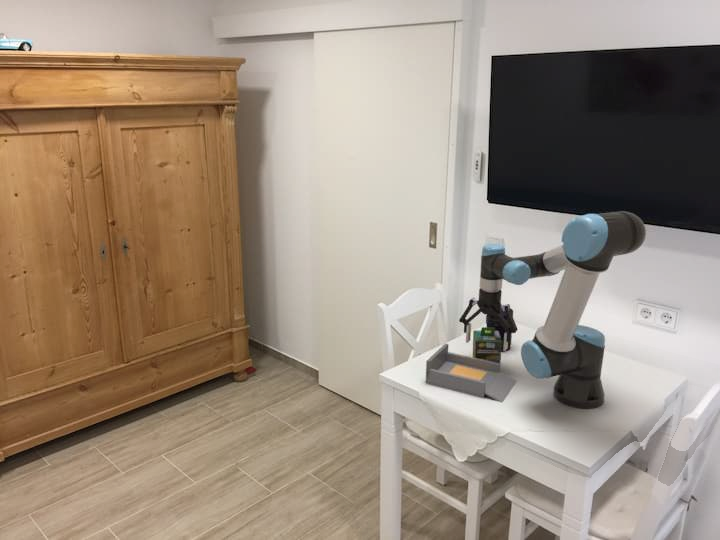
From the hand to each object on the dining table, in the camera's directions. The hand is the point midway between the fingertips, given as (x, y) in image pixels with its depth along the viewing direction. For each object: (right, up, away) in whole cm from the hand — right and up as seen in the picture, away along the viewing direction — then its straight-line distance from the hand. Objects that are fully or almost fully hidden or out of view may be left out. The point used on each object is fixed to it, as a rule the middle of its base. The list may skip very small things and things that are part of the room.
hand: (486, 345), depth 209 cm
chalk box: (0, -7, +2) cm, 8 cm away
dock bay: (-7, -11, -11) cm, 17 cm away
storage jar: (+8, -3, +16) cm, 18 cm away
